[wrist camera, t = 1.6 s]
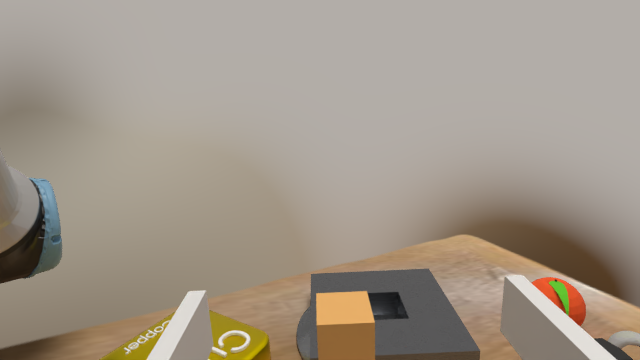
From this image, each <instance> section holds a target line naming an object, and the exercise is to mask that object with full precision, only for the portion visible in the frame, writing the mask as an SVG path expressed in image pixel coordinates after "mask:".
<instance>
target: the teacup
mask: <svg viewBox="0 0 640 360" xmlns="http://www.w3.org/2000/svg"><path fill="white" fill-rule="evenodd" d="M608 342H610V343H611V344H613V345H615V346H617V347H619V348H620V349H622V348H623V347H625V346H627V345H636V346H639V347H640V334H639V333H636V332H632V331H620V332H617V333H615V334H613V335H612V336H611V337H610V338H609V339H608Z"/></svg>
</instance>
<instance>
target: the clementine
mask: <svg viewBox="0 0 640 360" xmlns="http://www.w3.org/2000/svg"><path fill="white" fill-rule="evenodd" d="M532 284H533V285H534V286H535V287H536V288H537V289H538V290H540V291H541V292H542V293H543V294H544V295H545V296H546V297H547V298H548V299H550V300H551V301H552V302H553V303H554V304H555V305H556V306H557V307H559V308H560V309H561V310H562V311H563V312H564V313H565V314H566V315H567V316H569V317H570V318H571V319H572V320H573V321H574V322H575V323H576V324H578V325H579V326H581V324H582V323H583V322H584V319H585V316H586V305H585V303H584V300H583V298H582V296H581V295H580V293H579V292H578V291H577V289H575V288H574V287H573V286H572V285H570V284H569V283H567V282H566V281H563V280H561V279H558V278H552V277H546V278H541V279H537V280H535V281H533V282H532Z"/></svg>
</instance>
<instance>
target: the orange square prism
mask: <svg viewBox="0 0 640 360" xmlns="http://www.w3.org/2000/svg"><path fill="white" fill-rule="evenodd" d="M316 311H317V342H318V360H375V321H374V317H373V313H372V309H371V305H370V301H369V298H368V294H367V291H358V292H335V293H316Z"/></svg>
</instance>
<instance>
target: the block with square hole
mask: <svg viewBox="0 0 640 360" xmlns="http://www.w3.org/2000/svg"><path fill="white" fill-rule="evenodd" d="M358 291H367V294H368V298H369V301H370V305H371V309H372V313H373V317H374V321H375V360H479V359H480V350H479V348H478V347H477V345H476V343H475V342H474V340H473V339H472V337H471V335H470V334H469V332H468V331H467V329H466V327H465V326H464V324H463V323H462V321H461V319H460V318H459V316H458V315H457V313H456V311H455V310H454V308H453V307H452V305H451V304H450V302H449V300H448V299H447V297H446V296H445V294H444V292H443V291H442V289H441V288H440V286H439V284H438V283H437V281H436V280H435V278H434V276H433V275H432V273H431V272H430V270H429V269H412V270H389V271H367V272H344V273H322V274H311V306H310V307H309V308H308V309H307V310H306V311H305V313H304V314H303V316H302V317H301V319H300V321H299V324H298V328H297V345H298V350H299V353H300V355H301V357H302V360H318V342H317V311H316V293H335V292H358Z"/></svg>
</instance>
